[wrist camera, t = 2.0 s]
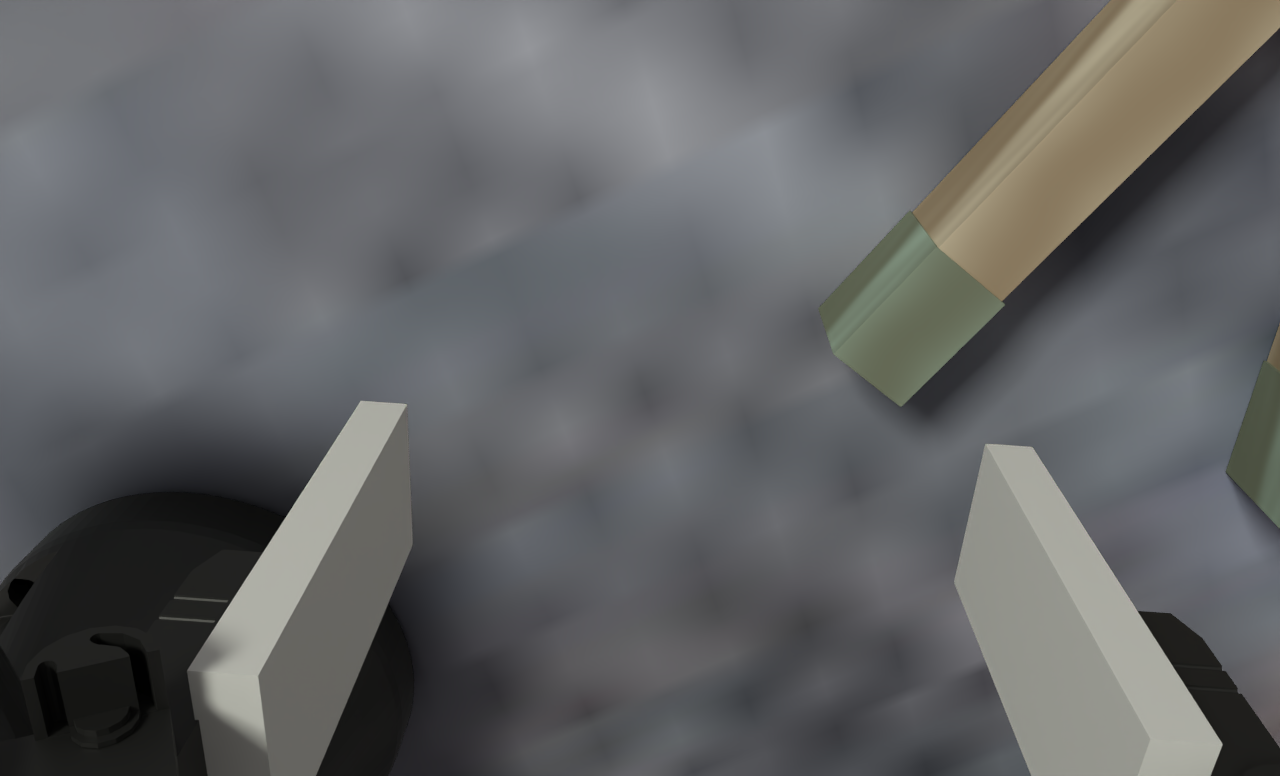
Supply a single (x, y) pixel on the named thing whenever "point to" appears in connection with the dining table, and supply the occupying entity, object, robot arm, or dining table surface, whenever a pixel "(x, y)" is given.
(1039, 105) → the tongs jaw
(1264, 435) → the bar
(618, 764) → the dining table surface
